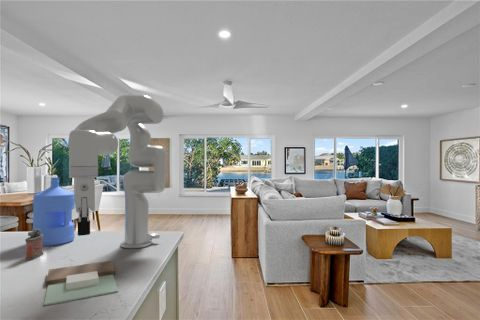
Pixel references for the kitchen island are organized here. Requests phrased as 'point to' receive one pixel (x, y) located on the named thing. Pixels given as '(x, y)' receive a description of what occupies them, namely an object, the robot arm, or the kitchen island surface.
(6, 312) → the kitchen island surface
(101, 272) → the riser
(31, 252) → the lighter
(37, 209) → the water jug
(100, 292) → the mat
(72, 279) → the tile
